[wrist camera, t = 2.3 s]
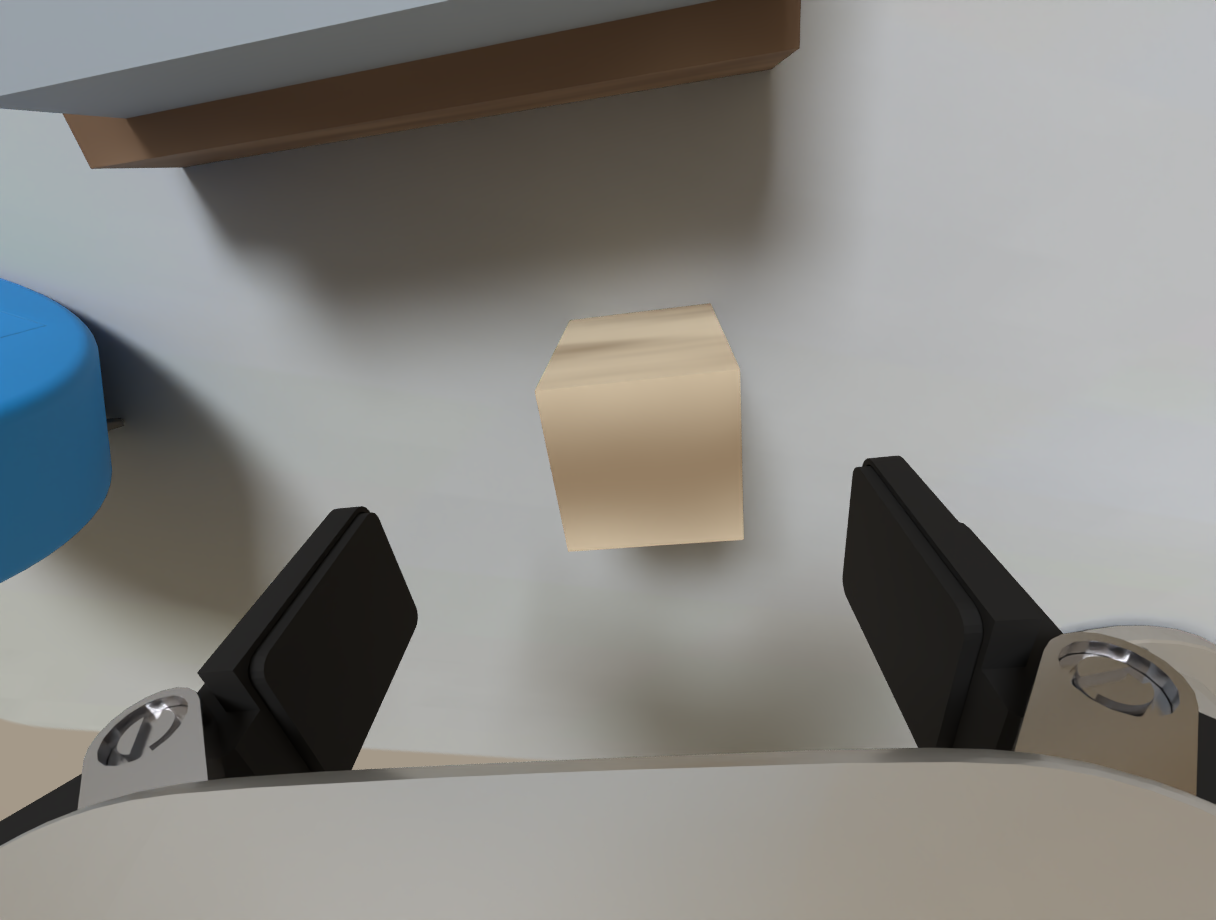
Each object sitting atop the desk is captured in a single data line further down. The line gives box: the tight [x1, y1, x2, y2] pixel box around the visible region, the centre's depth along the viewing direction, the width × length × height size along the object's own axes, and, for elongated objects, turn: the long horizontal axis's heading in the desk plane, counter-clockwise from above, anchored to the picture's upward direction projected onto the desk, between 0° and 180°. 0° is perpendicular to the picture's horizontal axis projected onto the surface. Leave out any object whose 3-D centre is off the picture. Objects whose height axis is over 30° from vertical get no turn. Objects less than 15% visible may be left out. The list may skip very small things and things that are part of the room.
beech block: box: [535, 303, 744, 552], centre depth 17 cm, size 5×5×7 cm
